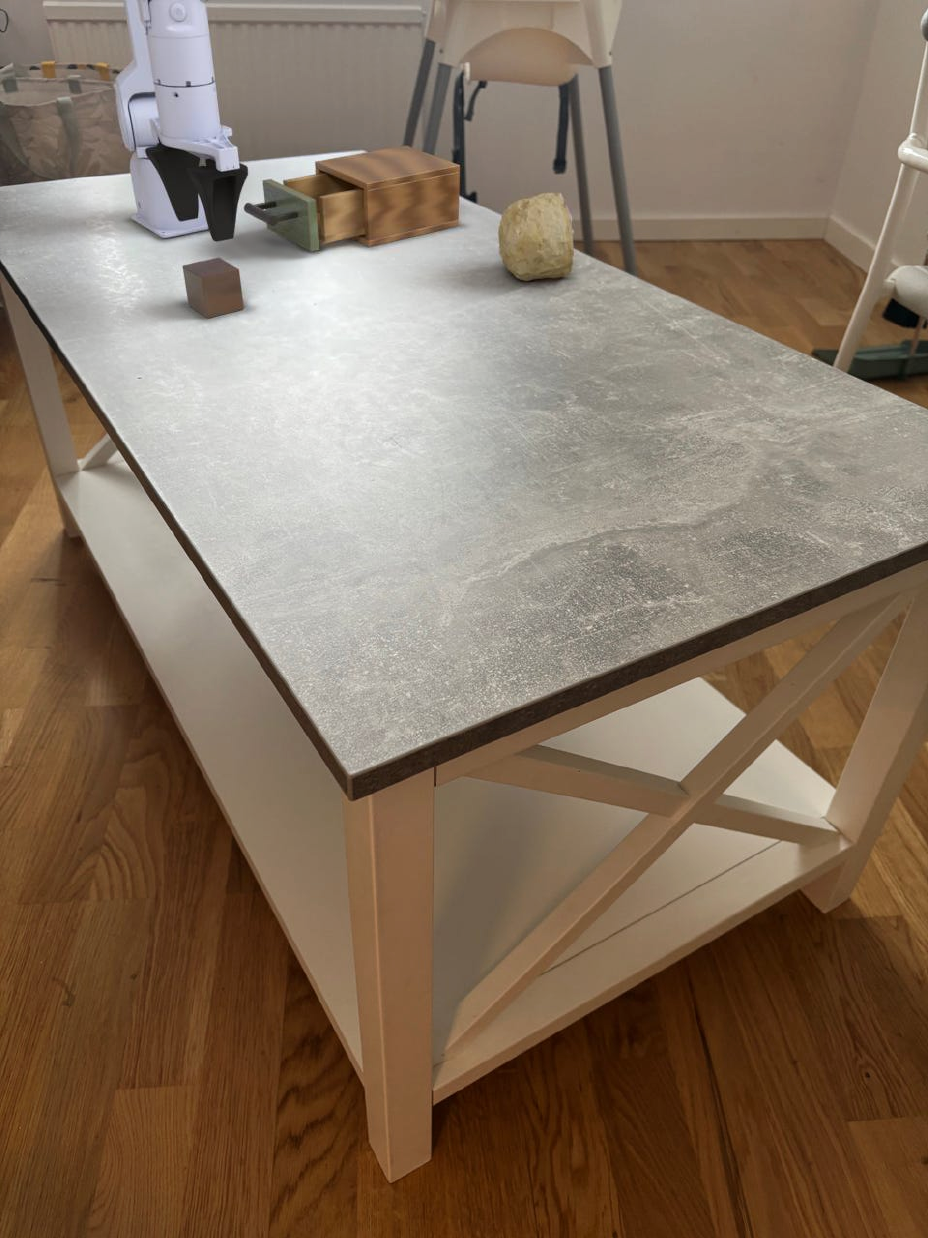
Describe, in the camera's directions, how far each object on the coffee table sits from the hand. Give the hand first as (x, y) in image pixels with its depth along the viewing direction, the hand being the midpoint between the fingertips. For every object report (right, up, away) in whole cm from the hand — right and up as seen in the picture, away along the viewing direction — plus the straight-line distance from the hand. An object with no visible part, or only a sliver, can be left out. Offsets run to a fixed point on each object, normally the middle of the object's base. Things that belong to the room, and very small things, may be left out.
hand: (205, 228), depth 99 cm
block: (0, -6, +5) cm, 8 cm away
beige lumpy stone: (+35, +1, +15) cm, 38 cm away
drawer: (+9, +9, +22) cm, 26 cm away
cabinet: (+17, +12, +28) cm, 35 cm away
